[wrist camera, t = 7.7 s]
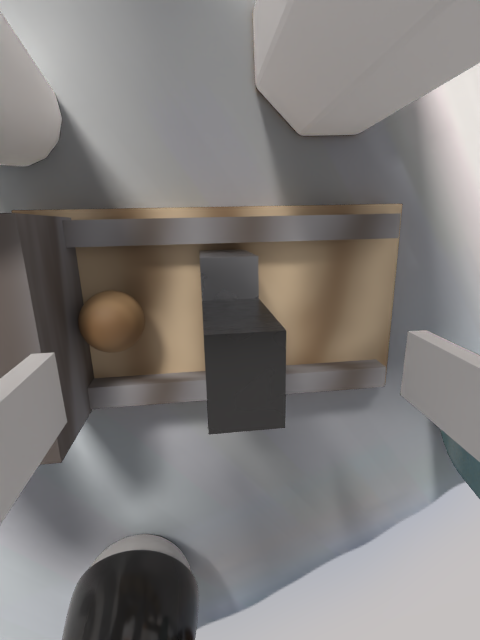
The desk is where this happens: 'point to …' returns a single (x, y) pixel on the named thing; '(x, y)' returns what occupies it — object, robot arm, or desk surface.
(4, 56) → the foam cup
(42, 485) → the desk surface
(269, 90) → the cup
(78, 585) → the pump dispenser
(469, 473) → the flower pot
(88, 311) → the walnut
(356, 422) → the desk surface
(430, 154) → the desk surface
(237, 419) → the block
